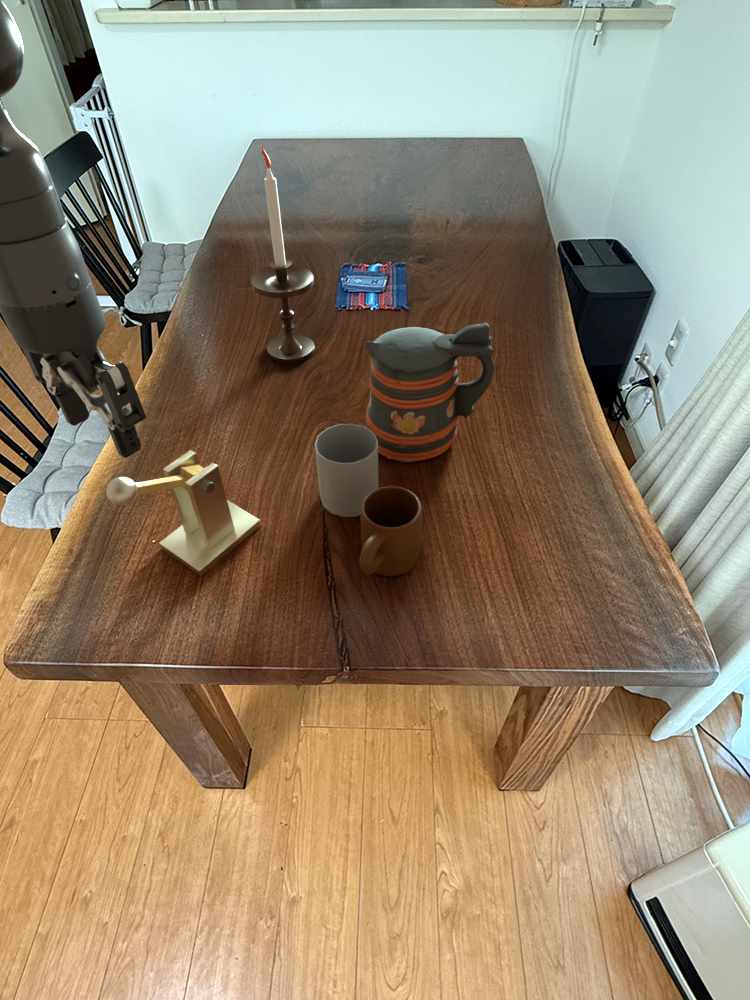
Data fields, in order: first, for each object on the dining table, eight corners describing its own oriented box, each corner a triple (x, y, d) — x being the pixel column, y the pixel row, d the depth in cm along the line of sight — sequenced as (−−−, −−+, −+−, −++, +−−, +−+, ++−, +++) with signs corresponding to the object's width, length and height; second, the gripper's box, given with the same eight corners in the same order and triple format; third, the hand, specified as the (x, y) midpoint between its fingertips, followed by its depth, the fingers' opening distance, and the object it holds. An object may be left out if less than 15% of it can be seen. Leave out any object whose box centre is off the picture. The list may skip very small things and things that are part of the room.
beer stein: (477, 406, 102) (493, 295, 88) (487, 464, 91) (507, 348, 77) (366, 406, 102) (363, 295, 88) (364, 463, 92) (361, 348, 77)
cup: (328, 473, 90) (323, 420, 83) (381, 479, 89) (381, 426, 82) (315, 513, 84) (308, 460, 77) (372, 520, 83) (371, 467, 76)
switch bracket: (201, 576, 77) (176, 507, 68) (160, 548, 80) (132, 479, 71) (261, 525, 83) (246, 455, 74) (221, 501, 86) (202, 432, 77)
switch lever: (116, 513, 64) (120, 486, 63) (98, 500, 65) (101, 474, 64) (209, 493, 75) (213, 470, 74) (192, 482, 76) (196, 459, 75)
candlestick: (251, 356, 114) (214, 150, 89) (285, 331, 120) (259, 132, 95) (297, 372, 110) (273, 161, 85) (330, 345, 116) (316, 142, 91)
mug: (393, 613, 72) (394, 565, 66) (337, 593, 75) (332, 544, 68) (427, 544, 80) (431, 494, 73) (375, 527, 82) (375, 478, 76)
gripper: (-48, 276, 50) (31, 429, 62) (49, 326, 44) (117, 485, 56) (34, 247, 54) (94, 395, 66) (133, 289, 48) (180, 443, 60)
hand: (104, 436), depth 61 cm, fingers open, 8 cm apart
